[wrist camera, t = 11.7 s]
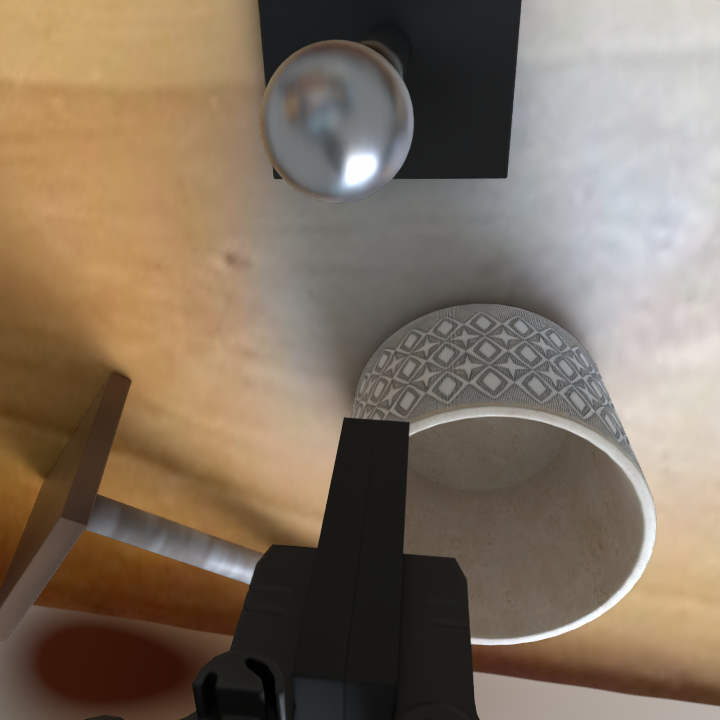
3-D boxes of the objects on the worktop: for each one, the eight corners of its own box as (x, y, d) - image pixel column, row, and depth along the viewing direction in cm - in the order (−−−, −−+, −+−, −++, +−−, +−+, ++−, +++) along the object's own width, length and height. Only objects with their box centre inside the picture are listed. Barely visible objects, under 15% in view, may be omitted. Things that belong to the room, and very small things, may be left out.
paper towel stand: (44, 481, 53) (-61, 616, 41) (113, 369, 47) (12, 490, 36) (308, 627, 58) (279, 782, 47) (399, 543, 52) (390, 696, 41)
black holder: (249, -95, 33) (507, -100, 34) (273, 173, 39) (489, 161, 40) (220, -271, 11) (947, -264, 12) (284, 404, 17) (758, 362, 18)
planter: (651, 353, 42) (728, 482, 31) (525, 527, 50) (551, 679, 39) (414, 254, 41) (407, 354, 30) (322, 450, 49) (290, 587, 38)
